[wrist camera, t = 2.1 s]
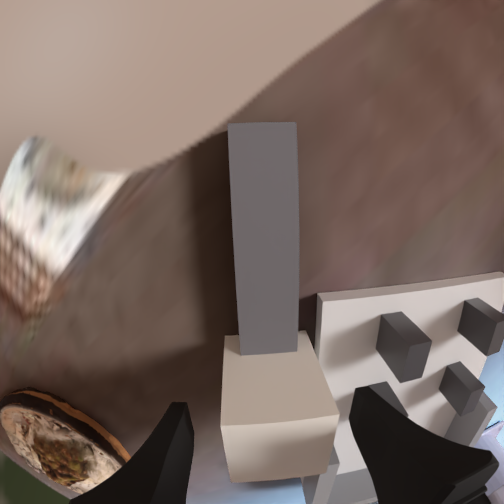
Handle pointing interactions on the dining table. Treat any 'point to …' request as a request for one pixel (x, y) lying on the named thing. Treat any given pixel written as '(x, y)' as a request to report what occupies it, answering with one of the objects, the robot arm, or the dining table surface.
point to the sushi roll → (60, 439)
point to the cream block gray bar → (270, 320)
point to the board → (406, 365)
